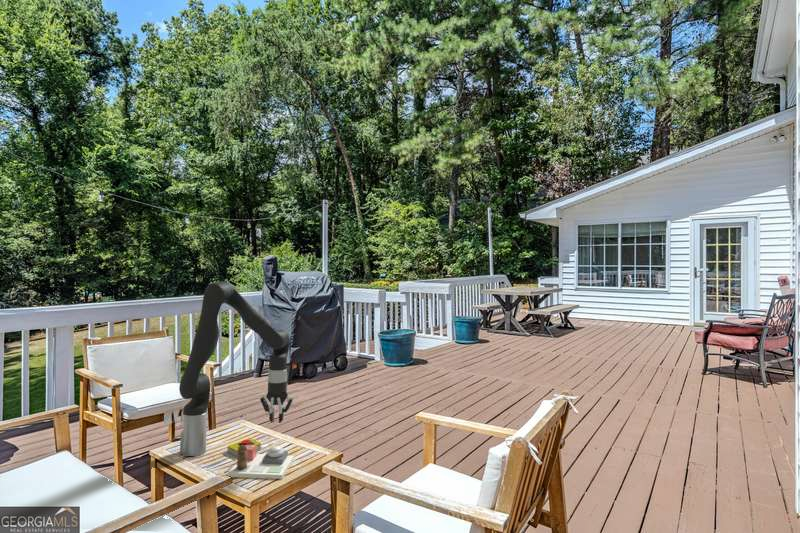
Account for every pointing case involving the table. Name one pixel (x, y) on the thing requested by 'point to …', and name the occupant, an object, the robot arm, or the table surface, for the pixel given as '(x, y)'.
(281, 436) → the table surface
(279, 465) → the board
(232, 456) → the emergency button
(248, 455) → the die
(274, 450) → the dome
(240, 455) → the pawn
